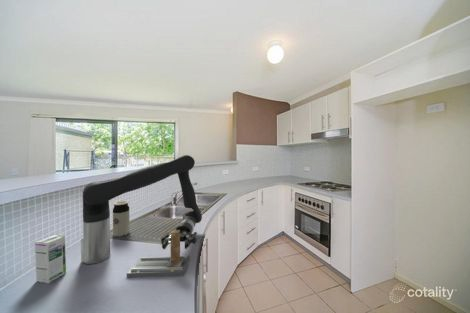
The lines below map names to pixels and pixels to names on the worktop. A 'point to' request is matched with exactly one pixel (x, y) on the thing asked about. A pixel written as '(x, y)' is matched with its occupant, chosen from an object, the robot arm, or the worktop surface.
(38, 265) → the syrup box
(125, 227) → the labelled jar
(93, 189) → the robot arm
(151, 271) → the grey slider track base
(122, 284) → the worktop surface
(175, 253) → the fader tab
